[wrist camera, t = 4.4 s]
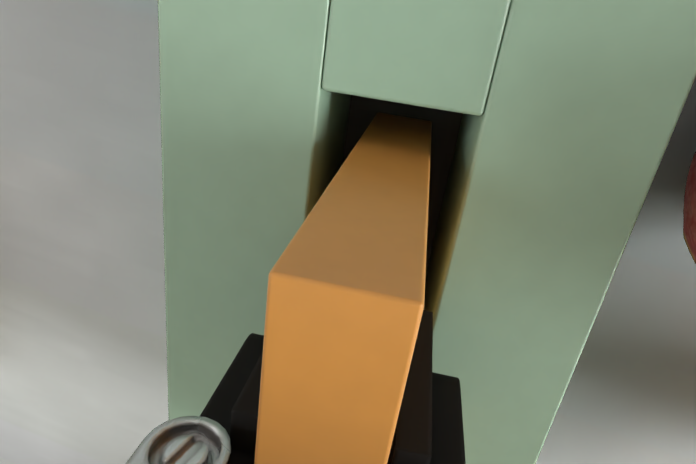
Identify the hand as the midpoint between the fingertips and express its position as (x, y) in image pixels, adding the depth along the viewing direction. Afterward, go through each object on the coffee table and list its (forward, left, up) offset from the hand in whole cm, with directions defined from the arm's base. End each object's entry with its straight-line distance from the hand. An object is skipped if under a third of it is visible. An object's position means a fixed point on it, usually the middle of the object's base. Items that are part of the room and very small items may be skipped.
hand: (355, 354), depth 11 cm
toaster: (0, 0, -6) cm, 6 cm away
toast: (0, 0, -5) cm, 5 cm away
